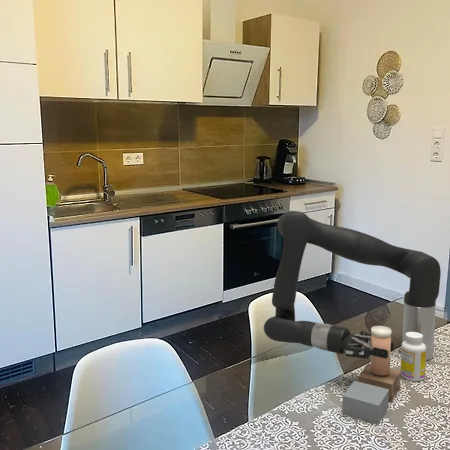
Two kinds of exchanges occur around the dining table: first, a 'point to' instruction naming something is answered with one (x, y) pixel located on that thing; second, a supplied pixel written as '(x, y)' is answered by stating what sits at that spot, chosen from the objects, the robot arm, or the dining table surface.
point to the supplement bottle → (413, 357)
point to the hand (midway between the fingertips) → (390, 350)
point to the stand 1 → (382, 380)
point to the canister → (383, 341)
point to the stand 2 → (365, 402)
